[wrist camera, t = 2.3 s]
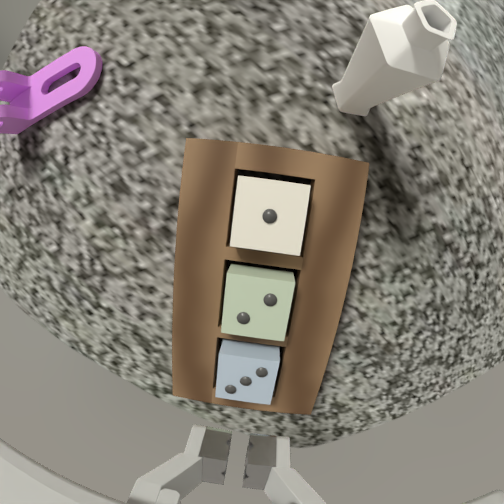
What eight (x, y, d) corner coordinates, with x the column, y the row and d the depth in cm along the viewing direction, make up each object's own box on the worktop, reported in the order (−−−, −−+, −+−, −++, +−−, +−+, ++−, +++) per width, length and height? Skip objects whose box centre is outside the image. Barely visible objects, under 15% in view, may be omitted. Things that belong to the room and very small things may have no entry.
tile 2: (293, 272, 24) (295, 282, 22) (283, 326, 25) (283, 341, 23) (231, 263, 24) (226, 273, 22) (225, 318, 26) (220, 333, 23)
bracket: (18, 134, 25) (-24, 131, 18) (17, 93, 23) (-23, 85, 17) (105, 86, 23) (63, 67, 16) (101, 42, 22) (64, 17, 15)
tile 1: (306, 184, 23) (310, 185, 20) (297, 247, 24) (300, 256, 21) (241, 175, 23) (238, 175, 20) (234, 239, 24) (229, 246, 21)
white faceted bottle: (385, 118, 22) (493, 68, 8) (338, 124, 23) (418, 63, 8) (371, 70, 21) (455, -14, 7) (324, 74, 22) (377, -26, 7)
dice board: (360, 164, 23) (369, 163, 21) (308, 399, 29) (310, 414, 27) (194, 141, 24) (186, 138, 22) (179, 381, 30) (173, 395, 27)
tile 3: (279, 346, 26) (279, 362, 23) (270, 388, 27) (270, 405, 25) (223, 338, 26) (218, 353, 24) (219, 380, 27) (215, 397, 25)
